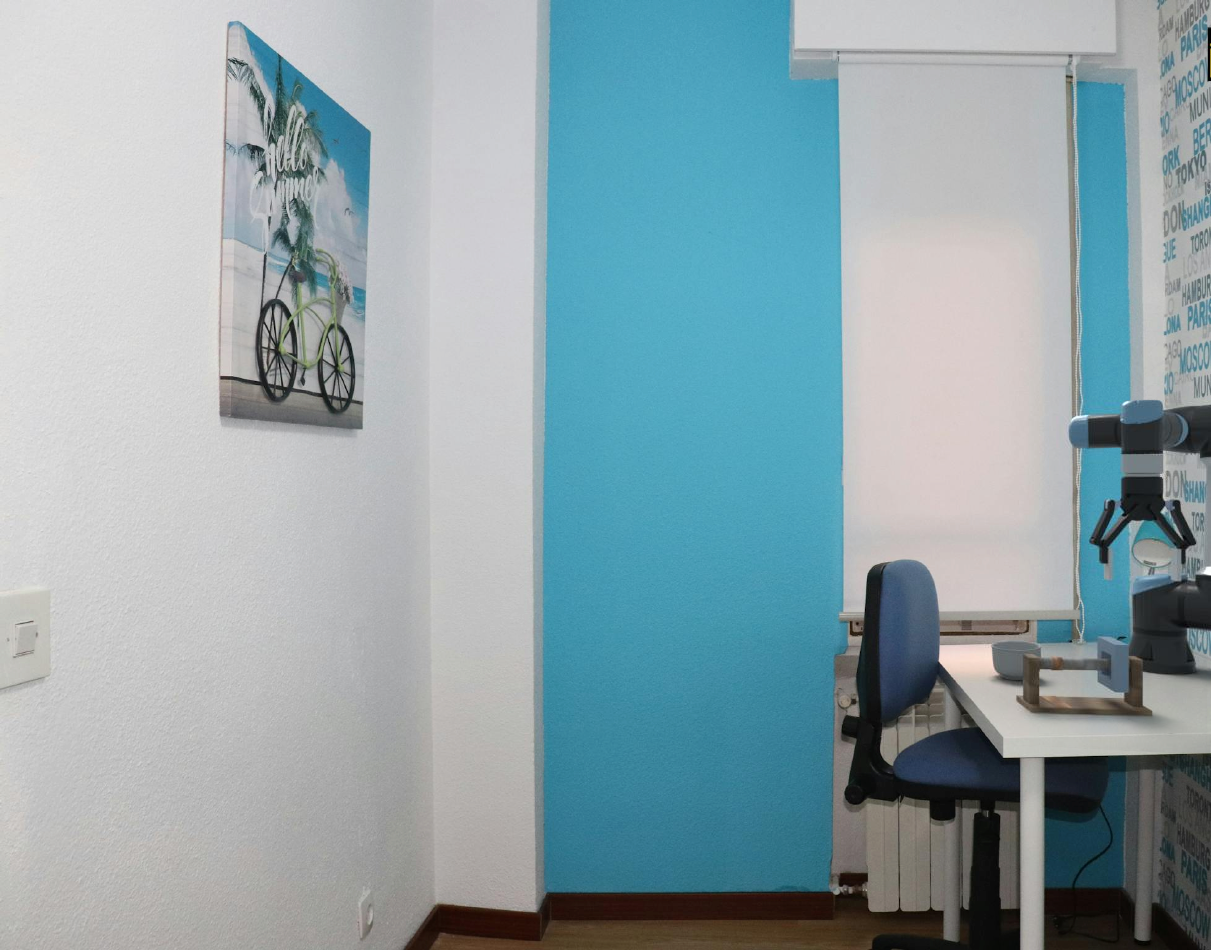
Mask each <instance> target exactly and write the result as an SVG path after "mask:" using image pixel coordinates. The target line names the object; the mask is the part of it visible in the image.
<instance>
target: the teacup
mask: <svg viewBox="0 0 1211 950" xmlns="http://www.w3.org/2000/svg"><path fill="white" fill-rule="evenodd" d="M990 646H991V655H992V656H991V657H992V664H993V665H992V666H993V668H994V670H995V672H996V673H997V674H999V675H1000V676H1001V678H1003V679H1006V680H1010V681H1023V654H1033V655H1035V656H1037V657H1038V658H1042V646H1041V644H1039V643H1036V642H1032V641H1025V640H1005V639H1001V640H999V641H996V642H993V643H991V645H990ZM1040 672H1041V669H1039V673H1040Z"/></svg>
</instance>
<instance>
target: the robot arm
mask: <svg viewBox="0 0 1211 950" xmlns="http://www.w3.org/2000/svg"><path fill="white" fill-rule="evenodd" d="M1163 404H1164V403H1163V401H1161V400H1158V399H1137V400H1135V399H1134V400H1126V401H1124V402H1122V405H1121V410H1120V412H1121V413H1107V414H1102V413H1101V414H1084V415H1083V414H1082V415H1076V416H1074V417H1073V418H1071V420H1070V422H1069V424H1068V439H1069V442H1070V444H1071V445H1072V446H1073V447H1074V448H1075V449H1086V450H1090V449H1091V450H1092V449H1117V448H1119V449H1120V454H1121V455H1120V462H1121V463H1120V467H1121V468H1120V470H1121V471H1120V472H1121V474H1123V475H1124V476H1122V478H1120V484H1121V485H1120V495H1121V497H1120V499H1119V500H1114V499H1105V500H1104V503H1103V511H1102V512H1101V514H1100V517H1099V519H1098V521H1097V522H1096V525H1095V528H1094V530H1093V532H1092V534H1091V536H1090V538H1089V539H1088V542H1089V544H1091V545H1094V546H1096V547H1097V548H1098V551H1099V552H1098V561H1099V563H1100V564H1103V579H1104V580H1106V581H1114V549H1113V548H1111V547H1110V546H1111V545H1112V544H1113V542H1114V541H1116V539H1117V538H1118V537H1119V536H1120V534H1121V533H1122V532H1123V530H1124V529H1125V528H1126V527H1127V526H1128V525H1129V524H1130V523H1132V522H1133V521H1135V522H1141V521H1144V522H1145V521H1146V522H1154V523H1155V524H1156V525H1157V526H1158V527H1159V529H1160V530H1161V531H1162V532H1163V533H1164V534H1165V536H1166V537H1167V538H1168V539H1169V540H1170V542H1171V543H1172V544H1173V545H1174V546H1175V547H1171V548H1170V573H1158V574H1157V573H1155V574H1146V575H1139V576H1137V577H1135V578H1134V580H1133V582H1132V592H1131V596H1132V597H1131V598H1132V599H1131V600H1132V602H1131V603H1132V605H1131V606H1132V607H1131V608H1132V613H1131V614H1132V615H1131V616H1132V617H1131V618H1132V635H1131V638H1130V641H1129V644H1128V645H1129V656H1135V657H1137V658H1139V659H1141V660H1143V672H1150V673H1160V674H1177V675H1179V674H1191V673H1195V672H1196V670H1197V668H1196V666H1197V665H1196V663H1197V662H1196V660H1195V656H1194V654H1193V651H1192V647H1191V645H1190V643H1189V639H1188V630H1189V629H1190V630H1197V631H1206V632H1207V631H1208V632H1211V404H1208V405H1206V404H1205V405H1187V406H1186V405H1185V406H1179V407H1173V408H1169V409H1168V408H1167V409H1164V405H1163ZM1164 451H1166V452H1171V453H1180V454H1199V461H1200V462H1201V463H1202V464H1203V465H1205V467H1206V480H1205V481H1206V482H1205V485H1206V486H1205V512H1204V537H1203V538H1204V539H1203V560H1202V561H1203V564H1202V567H1201V568H1200V569H1199V570H1197V571H1196V572H1195V576H1194V578H1195V579H1194V580H1192V579H1191V580H1190V579H1189V577H1188V574H1187V573H1185V572H1184V573H1182V565H1185V564H1186V562H1187V556H1186V554H1187V553H1186V551H1187V549H1189V547H1193V546H1196V545H1197V539H1195V536H1194V534H1193V533H1192V529H1191V528H1190V526H1189V524H1188V522H1187V520H1186V518H1185V516H1184V514H1183V512H1182V507H1181V505H1182V503H1181V501H1180V500H1179V499H1174V498H1173V499H1170V500H1165V499H1164V478H1163V477H1162V476H1161V474H1163V473H1164ZM1119 508H1120V509H1121V511H1123V512H1122V513H1121V514H1120V515H1119V517H1118V519H1117V521H1116V522H1114V524H1113V525H1112V526H1111V527H1110V529H1109V530H1108V531H1107V532H1106V530H1107V528H1108V527H1109V525H1110V522H1111V520H1112V519H1113V515H1114V513H1115V511H1117V510H1118V509H1119ZM1164 508H1166V510H1167V511H1169V513H1170V516H1171V517H1172V519H1173V522H1174V524H1175V526H1176V528H1177V530H1178V532H1179V534H1178V532H1177V531H1176V530H1175V529H1174V528H1173V526H1172V525H1171V524H1170V523H1169V522H1168V520H1167V518H1166V517H1165V515H1164V514H1163V513H1162V511H1163V510H1164ZM1105 532H1106V534H1105Z"/></svg>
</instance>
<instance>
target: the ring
mask: <svg viewBox="0 0 1211 950" xmlns="http://www.w3.org/2000/svg"><path fill="white" fill-rule="evenodd" d="M1096 648H1097V649H1096V650H1097V652H1096V653H1097V655H1096V656H1097V659H1111V671H1097V683H1099V684H1100V685H1102V686H1104V687H1105V688H1107V689H1109V690H1110V691H1113V692H1114V693H1123V694H1124V693H1129V644H1128V643H1125V642H1122V641H1120V640H1118V639H1116V638H1114V637H1112V636H1097V647H1096Z"/></svg>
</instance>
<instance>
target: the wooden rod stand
mask: <svg viewBox="0 0 1211 950" xmlns="http://www.w3.org/2000/svg"><path fill="white" fill-rule="evenodd" d="M1039 669H1040V670H1050V671H1097V672H1098V671H1111V659H1098V658H1086V657H1084V658H1080V657H1078V658H1077V657H1075V658H1073V657H1061V656H1050V657H1041V658H1038V657H1037V656H1035V655H1033V654H1023V680H1022V695H1016V697H1015V700H1016V701H1017V702H1018V703H1019V704H1021V706H1023V707H1024V708H1025V709H1026V710H1028V711H1029V712H1030V713H1037V714H1038V713H1040V714H1041V713H1043V714H1044V713H1045V714H1073V715H1074V714H1075V715H1076V714H1077V715H1078V714H1079V715H1080V714H1081V715H1111V716H1112V715H1114V716H1115V715H1119V716H1149V717H1150V716H1151V717H1152V716H1153V710H1151V709H1150V708H1148V707H1146V706H1145V705H1144V671H1143V660H1141V659H1139V658H1137V657H1135V656H1129V693H1123V697H1095V696H1094V697H1091V696H1090V697H1089V696H1088V697H1087V696H1085V697H1084V696H1056V695H1040V672H1039Z"/></svg>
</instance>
